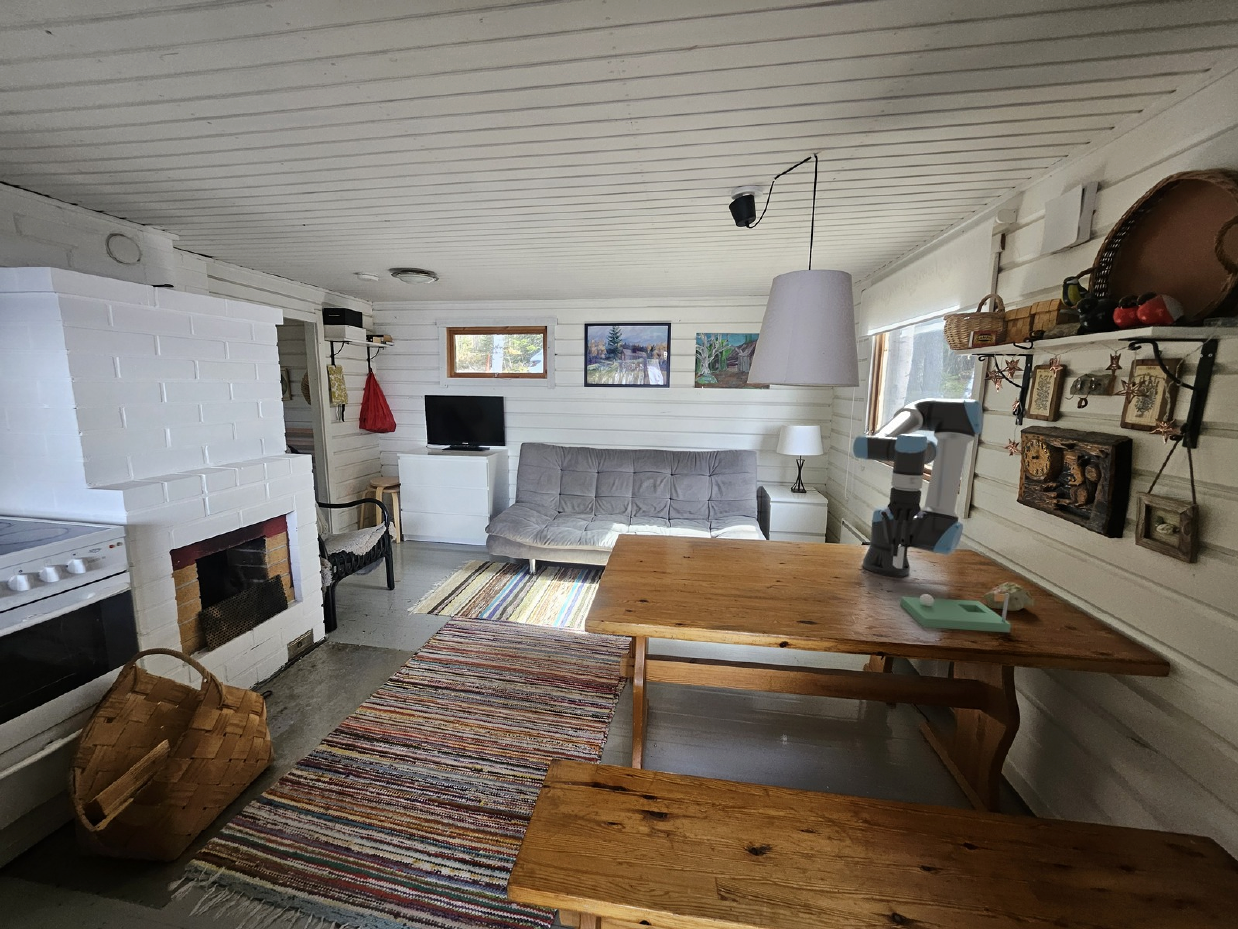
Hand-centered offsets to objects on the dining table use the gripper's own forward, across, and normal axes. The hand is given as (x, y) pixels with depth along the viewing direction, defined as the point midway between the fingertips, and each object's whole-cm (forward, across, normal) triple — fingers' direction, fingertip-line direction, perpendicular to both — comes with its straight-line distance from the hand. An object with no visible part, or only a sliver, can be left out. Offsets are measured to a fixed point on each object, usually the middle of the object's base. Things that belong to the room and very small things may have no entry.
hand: (897, 566), depth 136 cm
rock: (+14, +36, +10) cm, 40 cm away
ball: (+10, +9, 0) cm, 14 cm away
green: (+14, +16, -1) cm, 21 cm away
